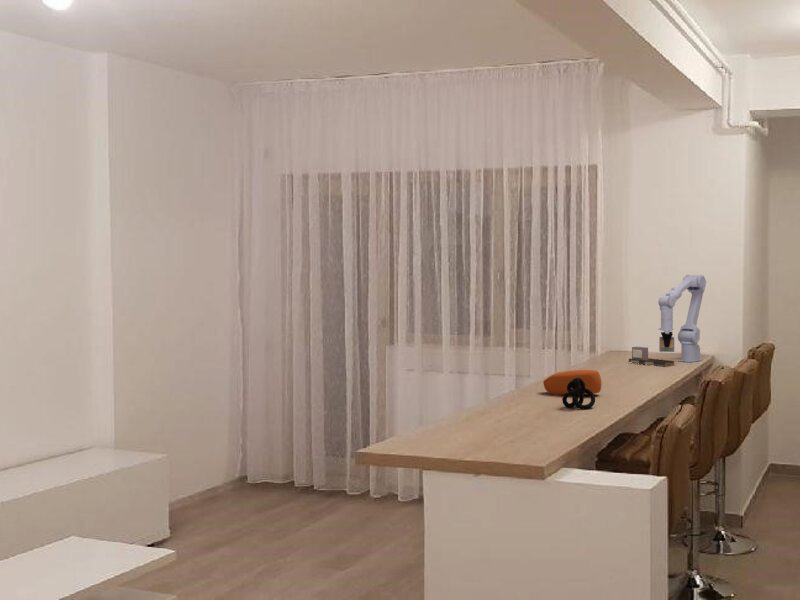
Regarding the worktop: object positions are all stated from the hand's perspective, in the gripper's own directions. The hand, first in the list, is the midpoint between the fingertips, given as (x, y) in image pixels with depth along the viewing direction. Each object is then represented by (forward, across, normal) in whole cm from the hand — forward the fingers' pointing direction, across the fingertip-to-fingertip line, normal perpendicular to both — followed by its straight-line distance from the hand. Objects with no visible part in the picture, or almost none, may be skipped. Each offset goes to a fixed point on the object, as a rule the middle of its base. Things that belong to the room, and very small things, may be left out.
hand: (666, 346), depth 540 cm
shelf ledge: (+9, -1, -8) cm, 12 cm away
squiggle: (+10, +129, -37) cm, 135 cm away
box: (+8, -6, -13) cm, 16 cm away
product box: (+2, 0, 0) cm, 2 cm away
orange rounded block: (+10, +97, -42) cm, 106 cm away
